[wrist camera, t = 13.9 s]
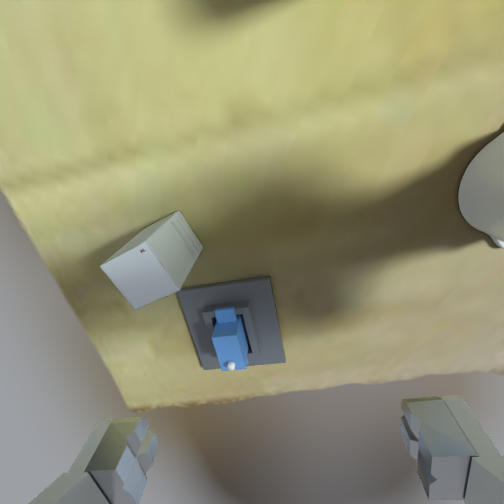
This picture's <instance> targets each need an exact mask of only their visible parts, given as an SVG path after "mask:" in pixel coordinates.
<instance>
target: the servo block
mask: <svg viewBox="0 0 504 504" xmlns="http://www.w3.org/2000/svg"><path fill="white" fill-rule="evenodd" d="M214 312H215V315H216V318H217V321H216V324H215V328H214V331H213V335H212V341H213V344H214V347H215V350H216V353H217V356H218V360H219V363H220V366H221V369H222V371H227V370H230V371H233V370H238V369H246V365H248V358H247V354H248V346H249V342H248V338H247V334H246V330H245V326H244V322H243V318H242V314H239V315H236V313H235V309H234V307H227V308H219V309H215V311H214Z"/></svg>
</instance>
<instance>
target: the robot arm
mask: <svg viewBox="0 0 504 504" xmlns="http://www.w3.org/2000/svg"><path fill="white" fill-rule="evenodd" d="M458 201H459V207H460V211H461V213H462V215H463V217H464V218H465V220H466V221H467V222H468V223H469V224H470V225H471V226H473V227H474V228H476V229H478V230H480V231H482V232H484V233H486V234H488V235H489V236H490V237H491V238H492V240H493V241H494V242H495V244H496V245H497V246H499V247H501V248H504V132H503V133H501V134H500V135H499V136H498V137H497V138H495V139H494V140H493V141H491V142H490V143H489V144H487V145H486V146H485V147H484V148H483V149H482V150H481V151H480V152H479V153H478V154H477V155H476V156H475V157H474V159H473V160H472V161H471V163H470V164H469V166H468V167H467V169H466V171H465V173H464V175H463V177H462V180H461V183H460V187H459V194H458ZM401 409H402V411H403V413H404V415H403V416H402V417H401V428H402V433H403V437H404V440H405V444H406V446H407V448H408V451H409V454H410V455H411V456H412V457H414V458H415V459H416V460H417V473H418V476H419V478H420V480H421V483H422V485H423V488H424V490H425V492H426V495H427V497H428V500H464V503H465V504H504V456H502V454H501V453H500V452H499V450H498V449H497V447H496V446H495V444H494V443H493V441H492V440H491V438H490V437H489V436H488V434H487V433H486V431H485V430H484V428H483V427H482V426H481V424H480V423H479V421H478V420H477V418H476V417H475V416H474V414H473V413H472V411H471V410H470V408H469V407H468V405H467V404H466V403H465V401H464V400H463V399H462V398H461V397H460V396H459V395H453V396H440V397H437V396H433V397H421V398H411V399H410V398H409V399H402V401H401ZM149 424H150V423H149V422H148V420H147V418H146V417H139V418H115V419H102V420H101V421H100V422H99V423H97V425H96V427H95V428H94V430H93V432H92V433H91V435H90V436H89V438H88V440H87V441H86V443H85V445H84V446H83V448H82V450H81V451H80V453H79V455H78V456H77V458H76V460H75V461H74V463H73V465H72V467H71V468H70V470H69V472H68V473H63V474H62V475H61V476H60V477H58V478H57V479H56V480H55V481H54V482H53V483H52V484H51V485H49V487H47V488H46V489H45V490H44V491H43V492H41V493H40V494H39V495H38V496H37V497H36V498H35V499H34V500H32V501H31V502H30V503H29V504H139V502H140V499H141V496H142V493H143V491H144V488H145V485H146V483H147V477H146V472H147V470H148V469H149V468H150V467H151V466H152V465H153V463H154V460H155V457H156V453H157V438H156V436H155V433H154V432H152V431H151V430H150V429H148V426H149Z"/></svg>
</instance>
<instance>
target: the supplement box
mask: <svg viewBox="0 0 504 504" xmlns="http://www.w3.org/2000/svg"><path fill="white" fill-rule="evenodd" d="M202 249H203V246H202V245H201V243H200V242H199V240H198V239H197V237H196V236H195V234H194V232H193V231H192V229H191V228H190V226H189V225H188V223H187V222H186V220H185V219H184V217H183V216H182V214H181V212H180V211H179V210H178V211H176V212H174V213H173V214H171V215H169V216H167V217H165V218H163V219H161V220H159V221H157V222H156V223H154V224H152V225H150V226H148V227H146V228H145V229H143V230H142V231H141V232H140V233H138V234H137V235H136V236H135V237H134V238H132V239H131V240H130V241H129V242H128V243H126V244H125V245H124V246H123V247H122V248H120V249H119V250H118V251H117V252H116V253H114V254H113V255H112V256H111V257H110V258H108V259H107V260H106V261H105V262H104V263H103V264H101V265H100V268H101V269H102V270H103V271H104V272H105V274H106V275H107V276H108V277H109V278H110V280H111V281H112V282H113V283H114V285H115V286H116V287H117V288H118V290H119V291H120V292H121V293H122V294H123V296H124V297H125V298H126V299H127V301H128V302H129V303H130V304H131V305H132V307H133V308H134V309H135V310H136V309H138V308H140V307H143V306H145V305H147V304H149V303H151V302H154V301H156V300H158V299H161V298H163V297H166V296H168V295H170V294H173V293H175V292H177V291H180V290H181V288H182V286H183V284H184V282H185V280H186V278H187V276H188V274H189V273H190V271H191V269H192V267H193V266H194V264H195V262H196V260H197V258H198V257H199V254H200V253H201V251H202Z"/></svg>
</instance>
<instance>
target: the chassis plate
mask: <svg viewBox="0 0 504 504" xmlns="http://www.w3.org/2000/svg"><path fill="white" fill-rule="evenodd" d="M177 295H178V298H179V300H180V303H181V306H182V309H183V312H184V315H185V318H186V320H187V323H188V326H189V329H190V332H191V335H192V337H193V340H194V343H195V346H196V349H197V352H198V355H199V357H200V360H201V363H202V366H203V369H204V370H209V369H220V368H221V366H220V363H219V360H218V356H217V353H216V350H215V347H214V344H213V341H212V335H213V331H214V328H215V324H216V321H217V318H216V315H215V312H214V311H215V309H219V308H227V307H234V309H235V313H236V315H239V314H242V318H243V322H244V326H245V330H246V334H247V338H248V342H249V346H248V354H247V358H248V365H246V366H253V365H264V364H275V363H286V358H285V353H284V348H283V343H282V338H281V333H280V327H279V322H278V317H277V312H276V307H275V302H274V297H273V292H272V286H271V281H270V276H267V277H260V278H253V279H245V280H238V281H231V282H223V283H216V284H209V285H201V286H194V287H187V288H181V290H180V291H177Z"/></svg>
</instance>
